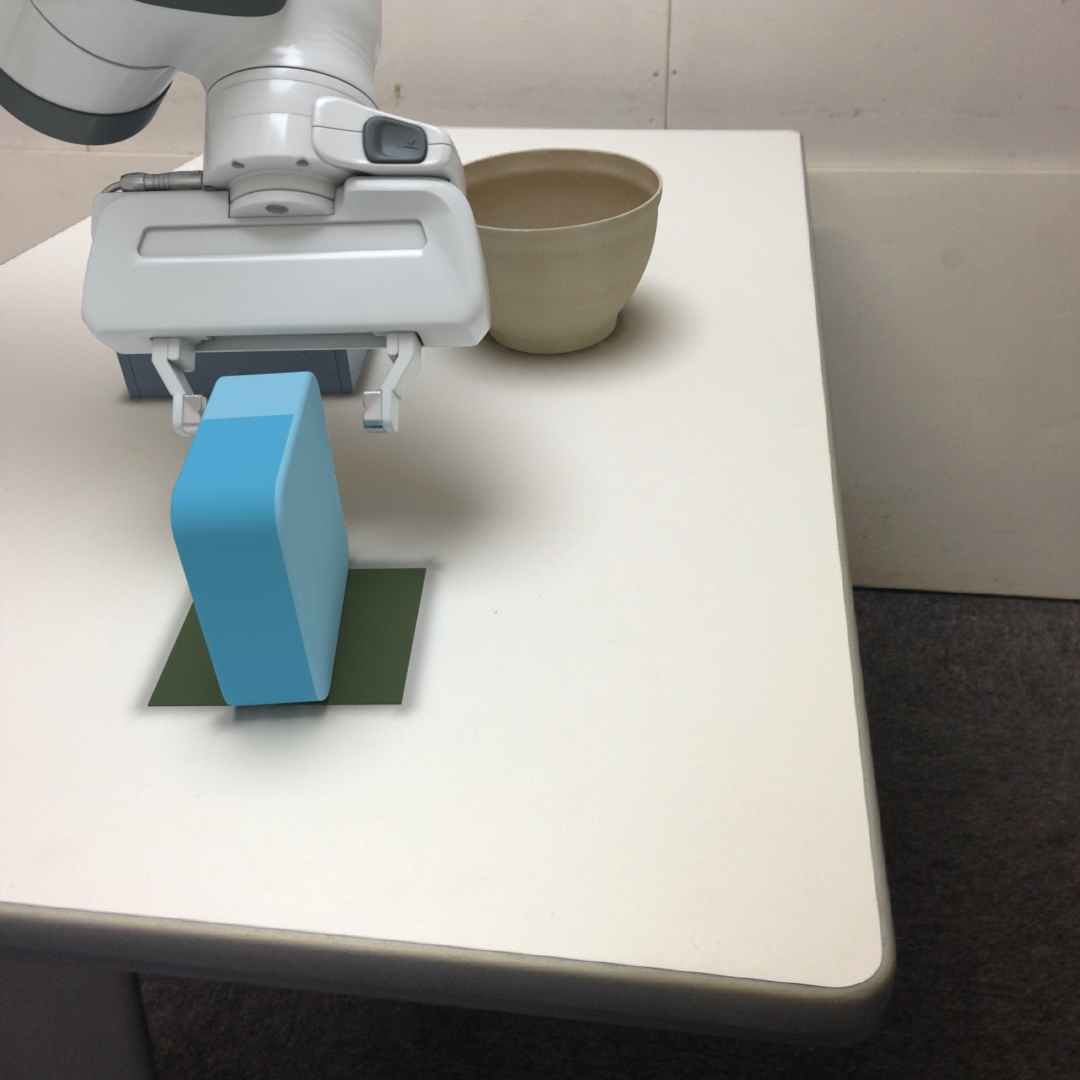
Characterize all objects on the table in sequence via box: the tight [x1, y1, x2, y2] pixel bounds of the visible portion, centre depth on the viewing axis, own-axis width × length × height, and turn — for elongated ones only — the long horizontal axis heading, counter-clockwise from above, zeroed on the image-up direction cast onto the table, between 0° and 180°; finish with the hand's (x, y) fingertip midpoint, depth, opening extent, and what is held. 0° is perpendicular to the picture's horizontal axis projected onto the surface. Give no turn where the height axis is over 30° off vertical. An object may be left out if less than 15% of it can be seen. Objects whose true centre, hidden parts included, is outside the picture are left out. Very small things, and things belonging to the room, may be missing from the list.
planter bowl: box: [462, 147, 664, 355], centre depth 78 cm, size 16×16×11 cm
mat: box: [147, 567, 427, 707], centre depth 54 cm, size 12×10×1 cm
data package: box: [169, 372, 350, 707], centre depth 51 cm, size 12×4×12 cm, turn 3°
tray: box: [115, 349, 370, 400], centre depth 81 cm, size 16×20×4 cm
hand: (286, 432), depth 53 cm, fingers open, 8 cm apart
